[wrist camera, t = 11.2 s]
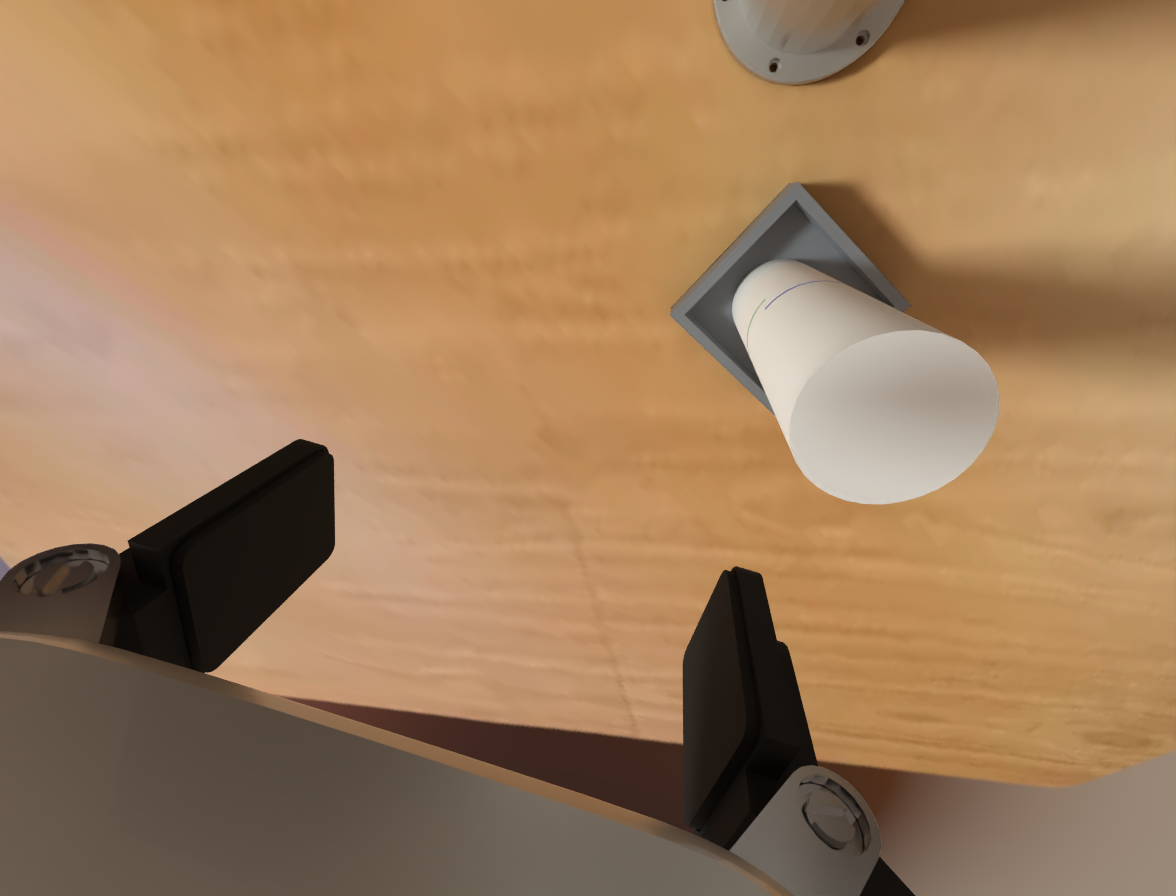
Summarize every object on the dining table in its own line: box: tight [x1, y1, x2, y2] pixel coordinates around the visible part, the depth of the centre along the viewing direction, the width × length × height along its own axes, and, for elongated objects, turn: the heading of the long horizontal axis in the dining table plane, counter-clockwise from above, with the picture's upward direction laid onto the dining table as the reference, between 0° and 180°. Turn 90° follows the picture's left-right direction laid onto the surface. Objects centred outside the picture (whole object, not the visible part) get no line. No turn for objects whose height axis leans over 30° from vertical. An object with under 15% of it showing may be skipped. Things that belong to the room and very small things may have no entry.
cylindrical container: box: [732, 259, 1000, 504], centre depth 30 cm, size 7×7×25 cm
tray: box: [670, 182, 911, 415], centre depth 40 cm, size 13×13×4 cm
